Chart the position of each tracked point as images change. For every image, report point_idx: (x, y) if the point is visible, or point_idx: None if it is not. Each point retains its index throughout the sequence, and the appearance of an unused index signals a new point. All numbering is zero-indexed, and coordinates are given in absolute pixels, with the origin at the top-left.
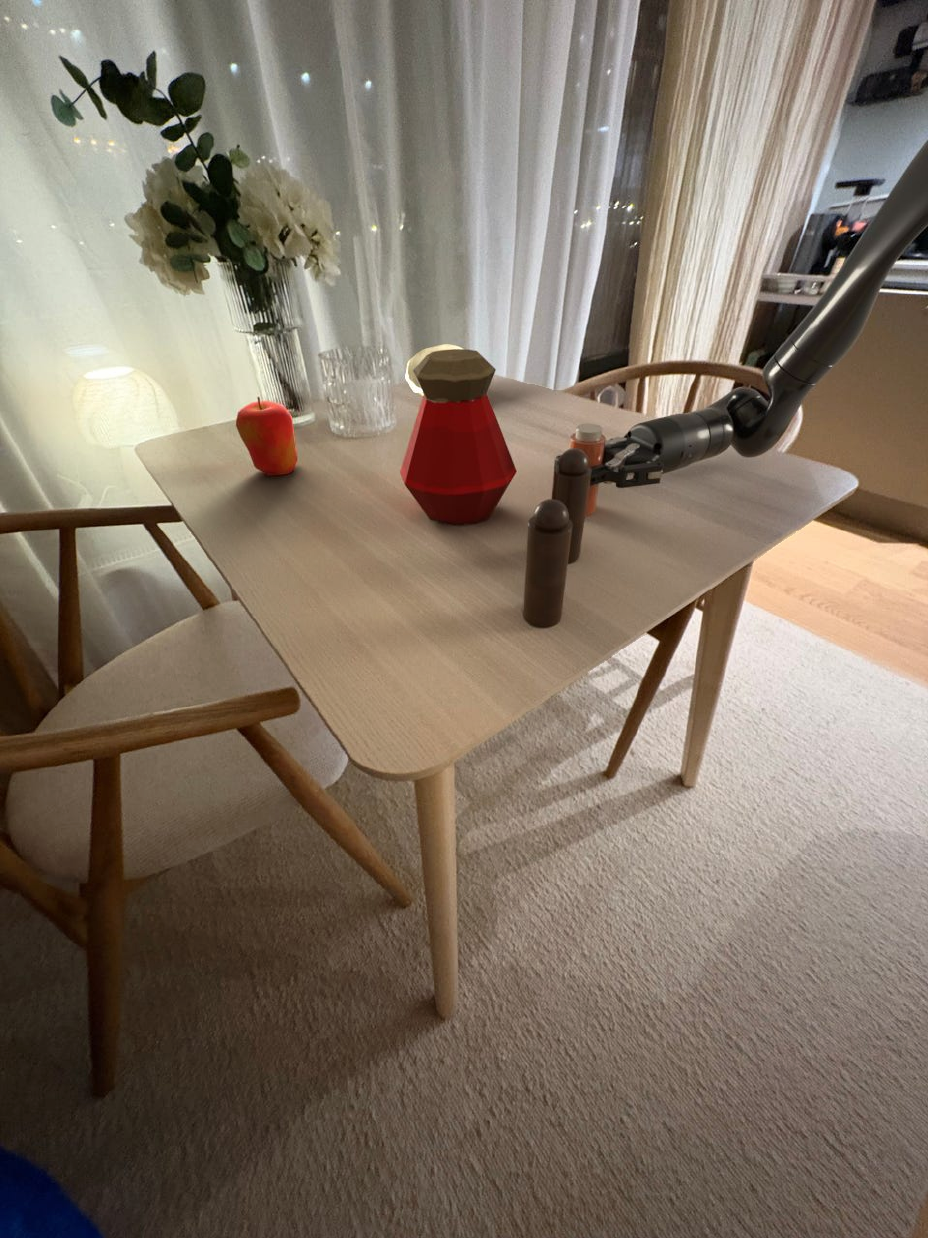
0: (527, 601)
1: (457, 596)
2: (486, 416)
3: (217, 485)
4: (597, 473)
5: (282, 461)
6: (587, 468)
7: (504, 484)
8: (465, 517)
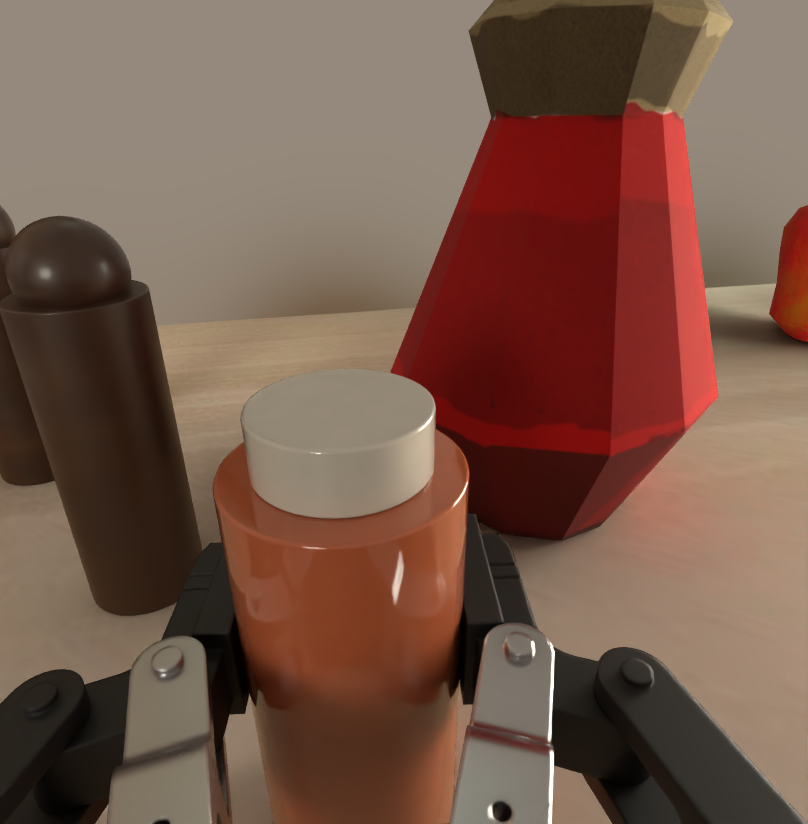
0: None
1: (221, 407)
2: (479, 180)
3: (741, 304)
4: (189, 591)
5: (788, 306)
6: (10, 287)
7: None
8: None
